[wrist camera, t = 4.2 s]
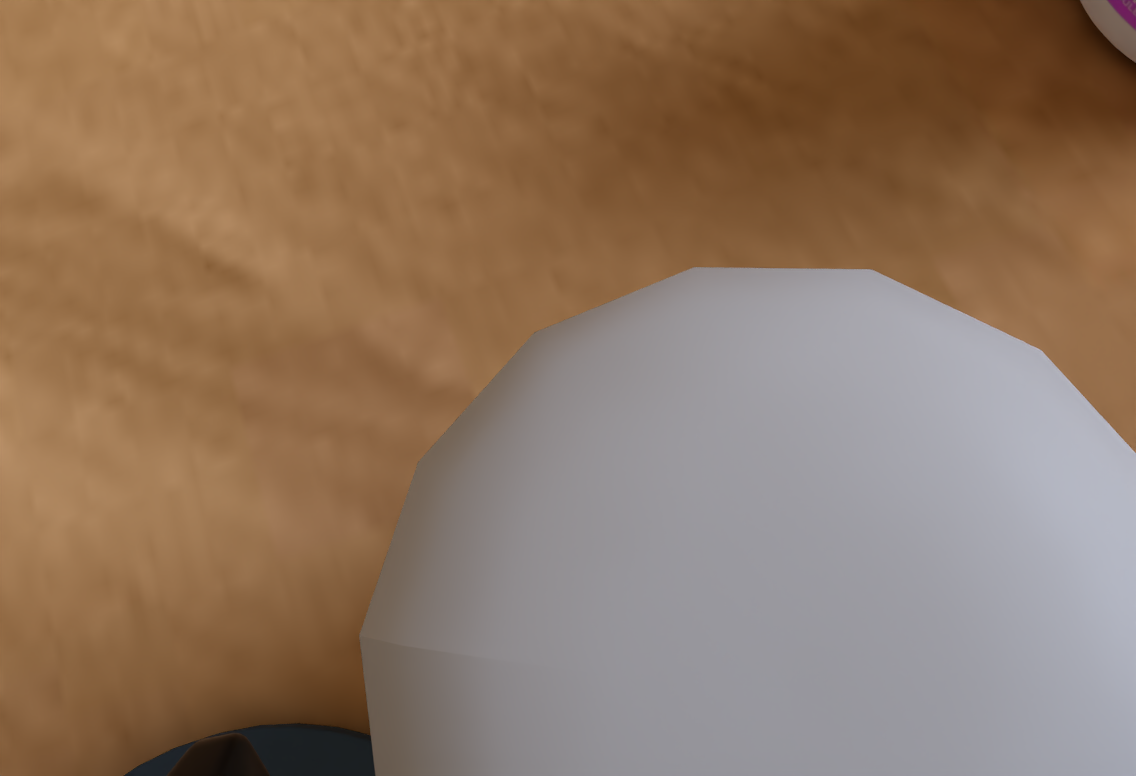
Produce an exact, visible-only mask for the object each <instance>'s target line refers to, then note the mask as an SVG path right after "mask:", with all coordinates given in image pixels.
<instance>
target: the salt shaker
mask: <svg viewBox="0 0 1136 776" xmlns="http://www.w3.org/2000/svg"><path fill="white" fill-rule="evenodd" d="M359 637H360V646H361V655H362V663H363V672H364V681H365V689H366V698H367V707H368V715H369V724H370V732H371V741H372V750H373V758H374V767H375V776H1136V453H1135V452H1134V451H1133V450H1132V449H1131V448H1130V447H1129V446H1128V444H1127V443H1126V442H1125V441H1124V440H1123V439H1122V438H1121V437H1120V436H1119V435H1118V434H1117V432H1116V431H1115V430H1114V429H1113V428H1112V427H1111V426H1110V425H1109V424H1108V423H1107V422H1106V420H1105V419H1104V418H1103V417H1102V416H1101V415H1100V414H1099V413H1098V412H1097V411H1096V410H1095V408H1094V407H1093V406H1092V405H1091V404H1090V403H1089V402H1088V401H1087V400H1086V399H1085V398H1084V396H1083V395H1082V394H1081V393H1080V392H1079V391H1078V390H1077V389H1076V388H1075V387H1074V385H1073V384H1072V383H1071V382H1070V381H1069V380H1068V379H1067V378H1066V377H1065V376H1064V375H1063V373H1062V372H1061V371H1060V370H1059V369H1058V368H1057V367H1056V366H1055V365H1054V364H1053V363H1052V361H1051V360H1050V359H1049V358H1048V357H1047V356H1046V355H1045V354H1044V353H1043V352H1042V351H1041V350H1040V349H1038V348H1036V347H1033V346H1031V345H1029V344H1027V343H1025V342H1023V341H1021V340H1019V339H1017V338H1015V337H1012V336H1010V335H1008V334H1006V333H1004V332H1002V331H1000V330H998V329H996V328H994V327H991V326H989V325H987V324H985V323H983V322H981V321H979V320H977V319H975V318H973V317H970V316H968V315H966V314H964V313H962V312H960V311H958V310H956V309H954V308H952V307H949V306H947V305H945V304H943V303H941V302H939V301H937V300H935V299H933V298H930V297H928V296H926V295H924V294H922V293H920V292H918V291H916V290H914V289H912V288H909V287H907V286H905V285H903V284H901V283H899V282H897V281H895V280H893V279H891V278H888V277H886V276H884V275H882V274H880V273H878V272H876V271H874V270H872V269H791V268H706V267H694V268H691V269H689V270H686V271H684V272H681V273H679V274H677V275H674V276H672V277H669V278H667V279H664V280H662V281H659V282H657V283H655V284H652V285H650V286H647V287H645V288H642V289H640V290H637V291H635V292H632V293H630V294H628V295H625V296H623V297H620V298H618V299H615V300H613V301H610V302H608V303H606V304H603V305H601V306H598V307H596V308H593V309H591V310H588V311H586V312H584V313H581V314H579V315H576V316H574V317H571V318H569V319H566V320H564V321H562V322H559V323H557V324H554V325H552V326H549V327H547V328H544V329H542V330H539V331H537V332H535V333H534V334H533V335H532V336H531V337H530V338H529V339H528V340H527V341H526V343H525V344H524V345H523V346H522V347H521V348H520V349H519V350H518V351H517V353H516V354H515V355H514V356H513V357H512V358H511V359H510V360H509V361H508V363H507V364H506V365H505V366H504V367H503V368H502V369H501V370H500V371H499V373H498V374H497V375H496V376H495V377H494V378H493V379H492V380H491V382H490V383H489V384H488V385H487V386H486V387H485V388H484V389H483V390H482V392H481V393H480V394H479V395H478V396H477V397H476V398H475V399H474V400H473V402H472V403H471V404H470V405H469V406H468V407H467V408H466V409H465V411H464V412H463V413H462V414H461V415H460V416H459V417H458V418H457V419H456V421H455V422H454V423H453V424H452V425H451V426H450V427H449V428H448V429H447V431H446V432H445V433H444V434H443V435H442V436H441V437H440V438H439V440H438V441H437V442H436V443H435V444H434V445H433V446H432V447H431V448H430V450H429V451H428V452H427V453H426V454H425V455H424V456H423V457H422V458H421V460H420V461H419V462H418V464H417V467H416V470H415V473H414V476H413V479H412V482H411V485H410V488H409V491H408V494H407V496H406V499H405V502H404V505H403V508H402V511H401V514H400V517H399V520H398V523H397V526H396V529H395V532H394V535H393V538H392V541H391V544H390V547H389V550H388V552H387V555H386V558H385V561H384V564H383V567H382V570H381V573H380V576H379V579H378V582H377V585H376V588H375V591H374V594H373V597H372V600H371V603H370V605H369V608H368V611H367V614H366V617H365V620H364V623H363V626H362V629H361V632H360V635H359Z"/></svg>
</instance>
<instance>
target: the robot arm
mask: <svg viewBox="0 0 1136 776" xmlns="http://www.w3.org/2000/svg"><path fill="white" fill-rule="evenodd" d="M167 776H270V774H269V773H268V771H267V769H266V768H265V766H264V764H263V763H262V761H261V759H260V758H259V756H258V754H257V753H256V751H255V749H254V748H253V746H252V744H251V743H250V741H249V740H248V739H247V737H245V736H244V735H242V734H240V733H230V734H225V735H220V736H215V737H210V738H205V739H202V740H199V741H197V742H196V743H195V744H193V745H192V746H191V747H190V748H189V749H188V750H187V751H186V753H185V754H184V755H183V756H182V757H181V759H180V760H179V761H178V762H177V764H176V765H175V766H174V767H173V768H172V770H171V771H170V772H169V773H168V775H167Z"/></svg>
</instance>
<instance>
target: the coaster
mask: <svg viewBox="0 0 1136 776" xmlns="http://www.w3.org/2000/svg"><path fill="white" fill-rule="evenodd" d="M230 733H240V734H242V735H244V736H245V737H247V739H248V740H249V741H250V743H251V744H252V746H253V748H254V749H255V751H256V753H257V754H258V756H259V758H260V759H261V761H262V763H263V764H264V766H265V768H266V769H267V771H268V773H269V774H270V776H375V767H374V758H373V750H372V741H371V735H368V734H363V733H359V732H355V731H351V730H347V729H343V728H339V727H331V726H321V725H310V724H300V723H297V724H276V725H259V726H254V727H249V728H243V729H238V730H233V731H228V732H222V733H219V734H215V735H212V736H209V737H206V738H210V737H215V736H220V735H225V734H230ZM203 739H205V738H203ZM200 740H202V739H200ZM197 741H199V740H197ZM197 741H194V742H191V743H188V744H185V745H182V746H179V747H176V748H174V749H172V750H170V751H168V752H166V753H164V754H162V755H159V756H157V757H155V758H153V759H151V760H149V761H147V762H145V763H143V764H141V765H139V766H137V767H136V768H134V769H133V770H131V771H130V772H128V773H127V774H125V775H124V776H167V775H168V773H169V772H170V771H171V770H172V768H173V767H174V766H175V765H176V764H177V762H178V761H179V760H180V759H181V757H182V756H183V755H184V754H185V753H186V751H187V750H188V749H189V748H190V747H191V746H192V745H193V744H195V743H196V742H197Z"/></svg>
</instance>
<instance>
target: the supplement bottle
mask: <svg viewBox="0 0 1136 776" xmlns="http://www.w3.org/2000/svg"><path fill="white" fill-rule="evenodd" d="M1080 1H1081V3H1082V5H1083V7H1084V9H1085V11H1086V12H1087V14H1088V15H1089V17H1090V18H1091V20H1092V21H1093V23H1094V24H1095V25H1096V27H1097V28H1098V29H1099V30H1100V31H1101V32H1102V34H1103V35H1104V36H1105V37H1106V38H1107V39H1108V40H1109V41H1110V42H1111V43H1112V44H1113V45H1114V46H1115V47H1116V48H1117V49H1118V50H1119V51H1121V52H1122V53H1123V54H1124V55H1126V56H1127V57H1128V58H1130V59H1131V60H1133V61H1134V62H1135V63H1136V0H1080Z"/></svg>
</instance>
